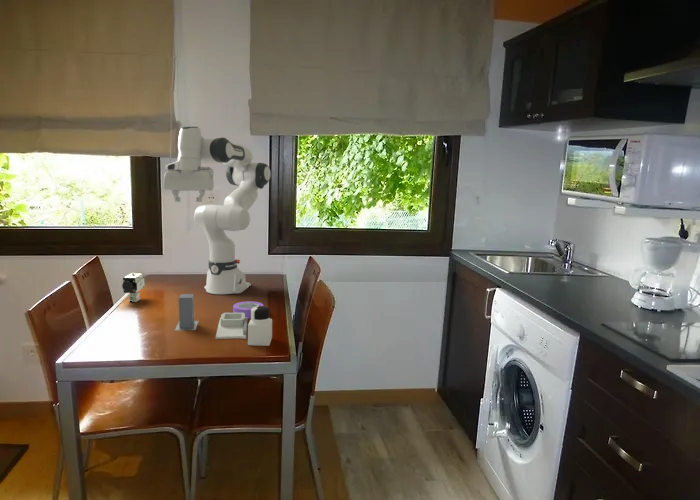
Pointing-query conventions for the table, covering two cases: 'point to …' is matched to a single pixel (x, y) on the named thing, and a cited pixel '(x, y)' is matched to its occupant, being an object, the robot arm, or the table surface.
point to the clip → (186, 310)
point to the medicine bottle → (260, 327)
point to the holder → (232, 326)
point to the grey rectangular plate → (187, 328)
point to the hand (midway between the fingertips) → (188, 201)
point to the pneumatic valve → (133, 285)
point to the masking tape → (245, 307)
